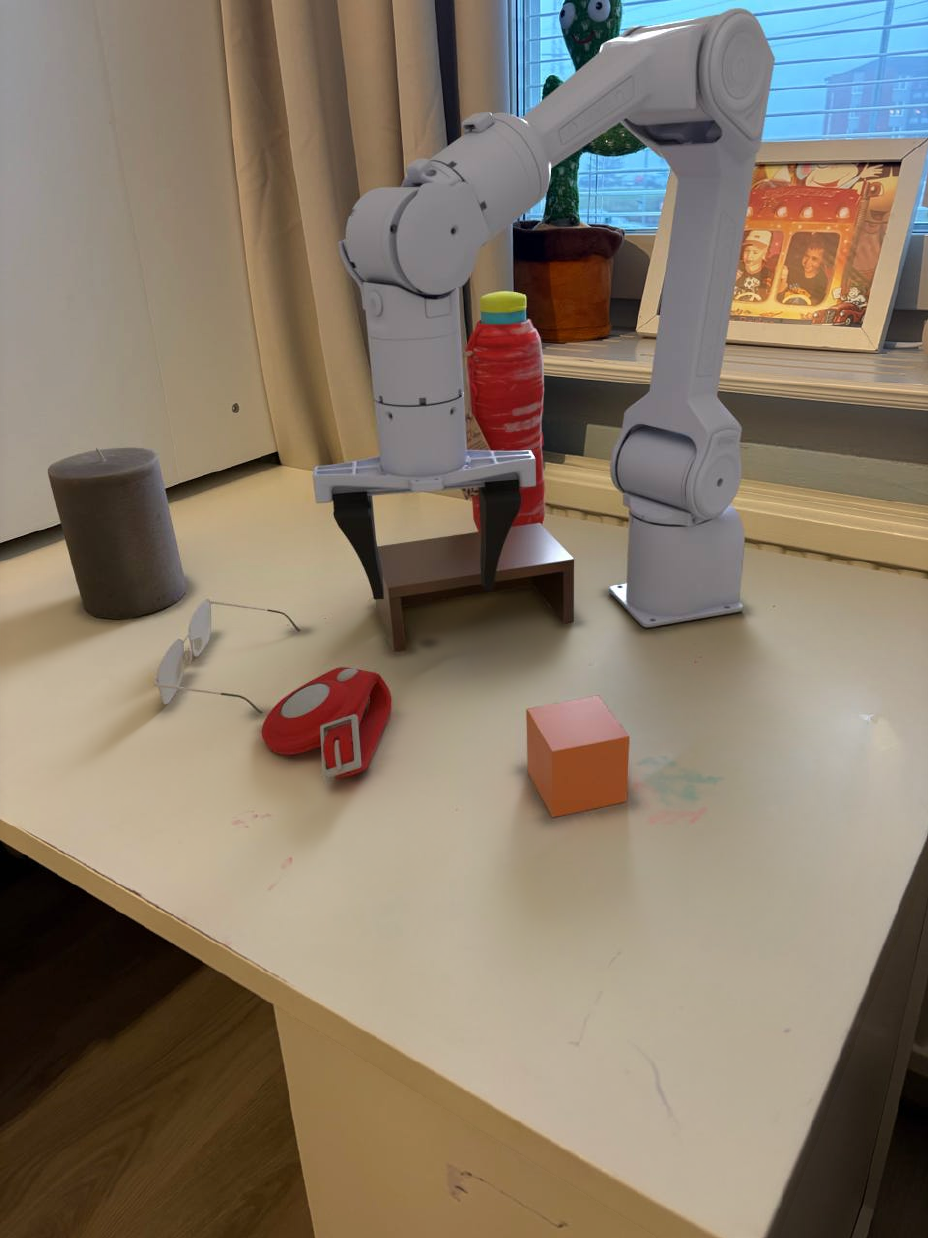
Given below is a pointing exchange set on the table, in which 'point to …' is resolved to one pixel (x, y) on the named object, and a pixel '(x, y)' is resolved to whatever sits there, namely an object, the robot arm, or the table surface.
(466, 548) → the shelf
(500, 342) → the water bottle
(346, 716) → the tracker holder
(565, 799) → the plain orange wooden cube
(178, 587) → the pillar candle
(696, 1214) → the table surface
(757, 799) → the table surface
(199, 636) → the eyeglasses
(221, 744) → the table surface
